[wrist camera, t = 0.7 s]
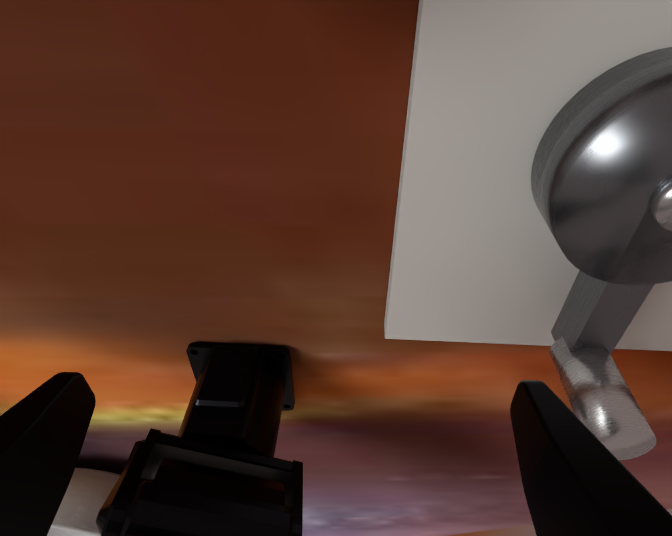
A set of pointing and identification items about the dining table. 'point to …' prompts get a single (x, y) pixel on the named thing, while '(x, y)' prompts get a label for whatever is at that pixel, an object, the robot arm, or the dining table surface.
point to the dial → (609, 232)
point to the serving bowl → (83, 503)
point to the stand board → (500, 166)
